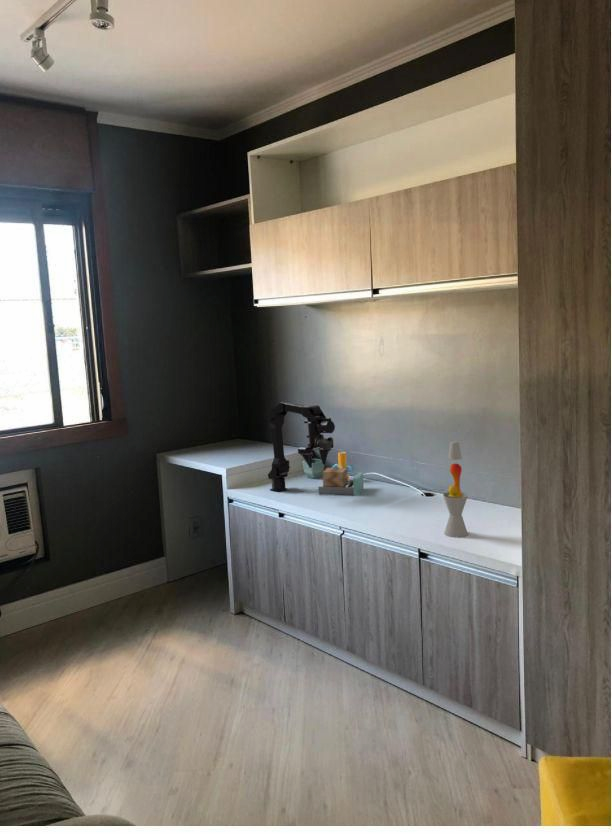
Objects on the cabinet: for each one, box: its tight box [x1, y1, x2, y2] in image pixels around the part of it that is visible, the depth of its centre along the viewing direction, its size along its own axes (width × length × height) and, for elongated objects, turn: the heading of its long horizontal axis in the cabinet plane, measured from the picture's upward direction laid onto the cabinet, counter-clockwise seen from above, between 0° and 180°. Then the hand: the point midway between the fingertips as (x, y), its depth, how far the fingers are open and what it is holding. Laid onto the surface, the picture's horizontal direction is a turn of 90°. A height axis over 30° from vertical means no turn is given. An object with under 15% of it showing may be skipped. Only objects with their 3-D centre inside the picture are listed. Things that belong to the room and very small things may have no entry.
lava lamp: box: [442, 441, 469, 538], centre depth 249 cm, size 9×9×35 cm
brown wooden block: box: [322, 467, 348, 487], centre depth 322 cm, size 10×9×7 cm
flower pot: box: [302, 458, 325, 479], centre depth 354 cm, size 9×9×9 cm
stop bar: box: [352, 471, 364, 497], centre depth 319 cm, size 2×14×8 cm, turn 164°
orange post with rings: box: [331, 451, 355, 481], centre depth 342 cm, size 12×10×15 cm
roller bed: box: [318, 480, 354, 496], centre depth 322 cm, size 17×14×4 cm
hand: (317, 466), depth 310 cm, fingers open, 9 cm apart
